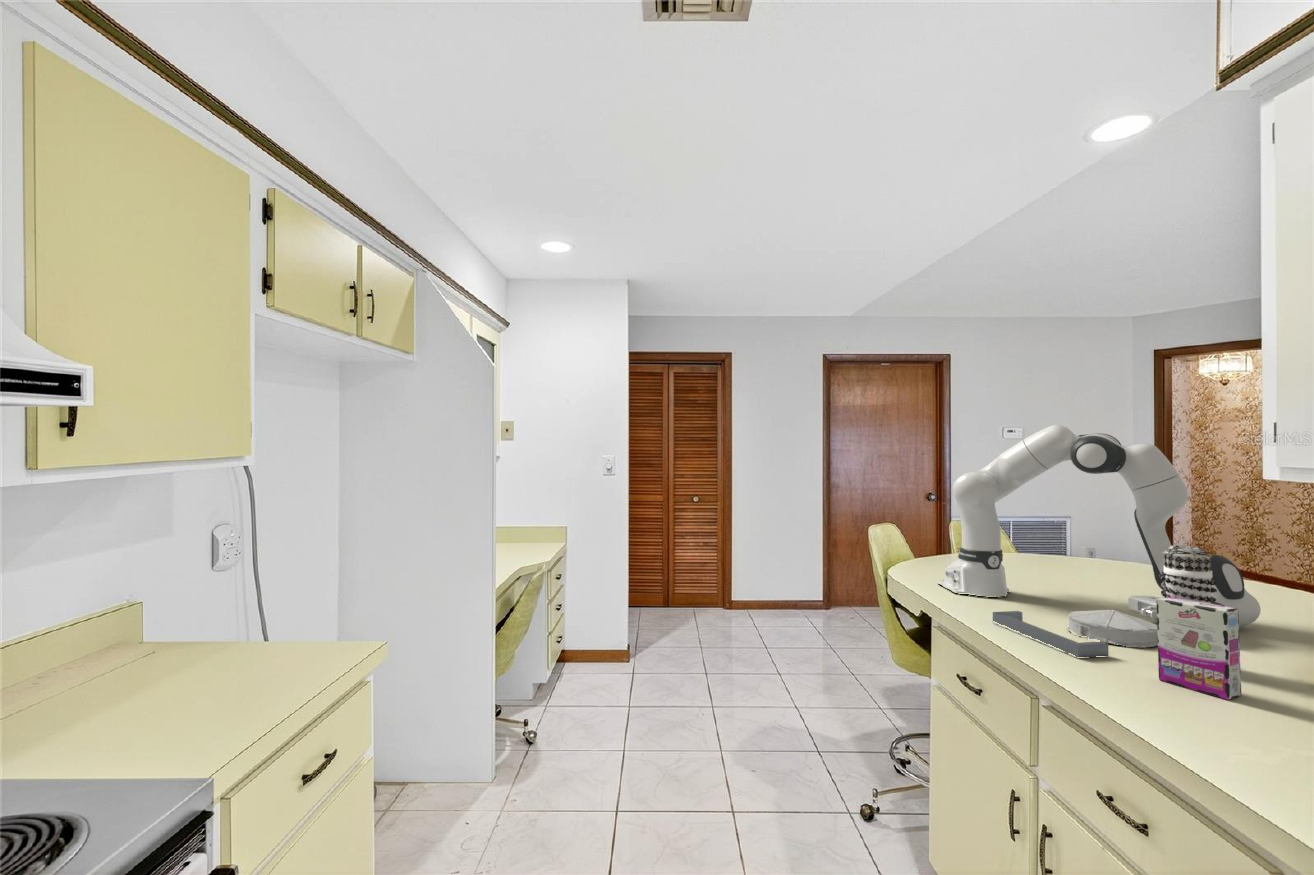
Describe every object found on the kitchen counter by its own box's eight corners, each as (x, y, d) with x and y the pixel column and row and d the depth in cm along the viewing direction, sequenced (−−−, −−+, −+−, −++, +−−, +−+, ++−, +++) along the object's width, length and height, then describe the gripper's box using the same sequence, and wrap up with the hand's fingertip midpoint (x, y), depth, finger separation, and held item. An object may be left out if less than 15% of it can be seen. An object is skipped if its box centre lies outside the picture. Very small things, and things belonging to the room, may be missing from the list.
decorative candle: (1156, 663, 128) (1154, 547, 128) (1166, 653, 134) (1163, 542, 134) (1214, 675, 121) (1211, 552, 121) (1221, 665, 127) (1219, 547, 127)
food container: (1045, 630, 154) (1044, 604, 154) (1101, 621, 160) (1100, 596, 160) (1127, 656, 135) (1126, 626, 135) (1187, 645, 141) (1186, 616, 141)
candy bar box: (1242, 696, 111) (1240, 608, 111) (1229, 701, 109) (1227, 611, 109) (1170, 676, 121) (1168, 595, 121) (1157, 680, 119) (1155, 597, 119)
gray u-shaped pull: (992, 623, 157) (992, 612, 158) (1018, 622, 159) (1018, 610, 159) (1078, 659, 131) (1078, 645, 131) (1108, 657, 132) (1108, 643, 132)
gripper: (1154, 588, 161) (1109, 590, 159) (1237, 609, 141) (1187, 611, 139) (1154, 612, 161) (1109, 614, 159) (1238, 636, 141) (1187, 638, 139)
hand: (1146, 613), depth 149 cm, fingers closed
